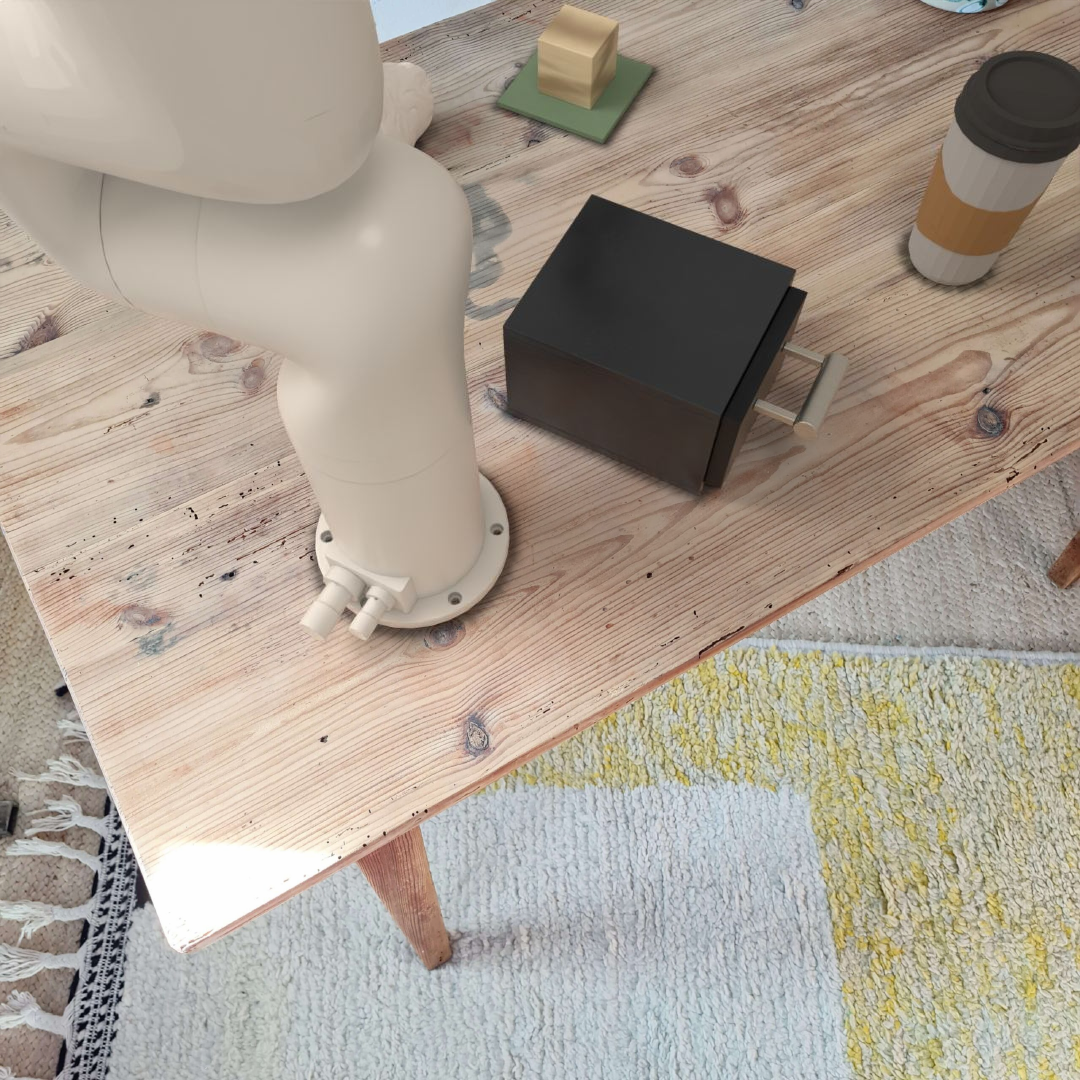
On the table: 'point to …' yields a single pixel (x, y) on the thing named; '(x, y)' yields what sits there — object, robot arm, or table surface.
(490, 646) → the table surface
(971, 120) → the coffee cup
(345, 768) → the table surface
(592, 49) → the block
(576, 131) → the mat
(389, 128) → the bust
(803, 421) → the drawer
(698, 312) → the cabinet
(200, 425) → the table surface
